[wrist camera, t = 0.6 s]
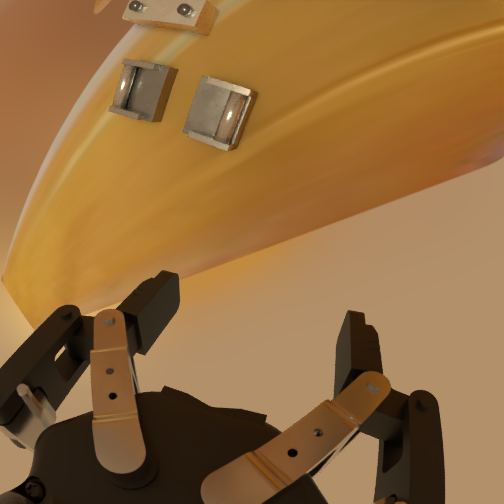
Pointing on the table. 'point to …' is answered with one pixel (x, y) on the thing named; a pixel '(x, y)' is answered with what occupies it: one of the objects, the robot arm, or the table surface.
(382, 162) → the table surface
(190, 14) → the metal block with bolts
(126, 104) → the chain ends
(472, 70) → the table surface
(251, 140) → the table surface
